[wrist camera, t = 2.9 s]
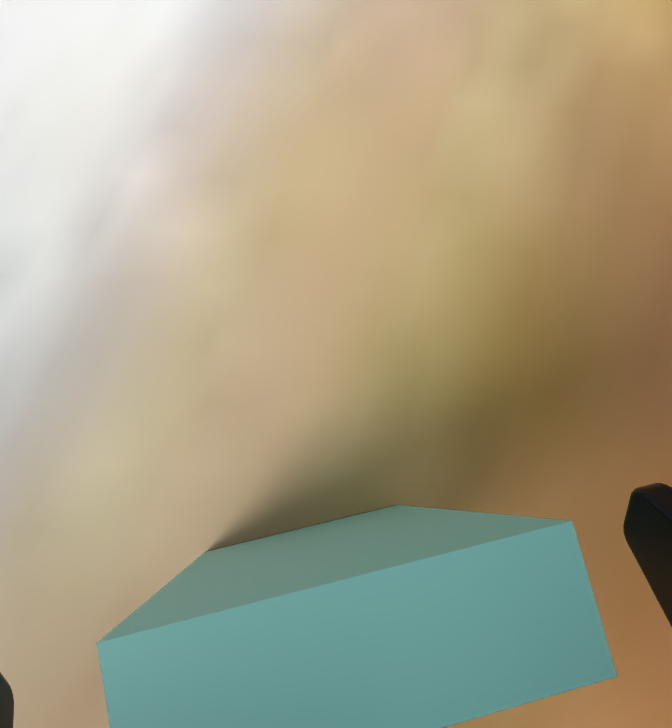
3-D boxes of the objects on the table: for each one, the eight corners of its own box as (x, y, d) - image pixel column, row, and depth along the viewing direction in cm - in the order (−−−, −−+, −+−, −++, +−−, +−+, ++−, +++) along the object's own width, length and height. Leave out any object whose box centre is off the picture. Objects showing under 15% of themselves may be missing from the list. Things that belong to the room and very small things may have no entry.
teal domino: (413, 567, 16) (617, 677, 7) (217, 618, 16) (124, 821, 6) (398, 504, 17) (572, 520, 7) (205, 552, 16) (97, 642, 6)
